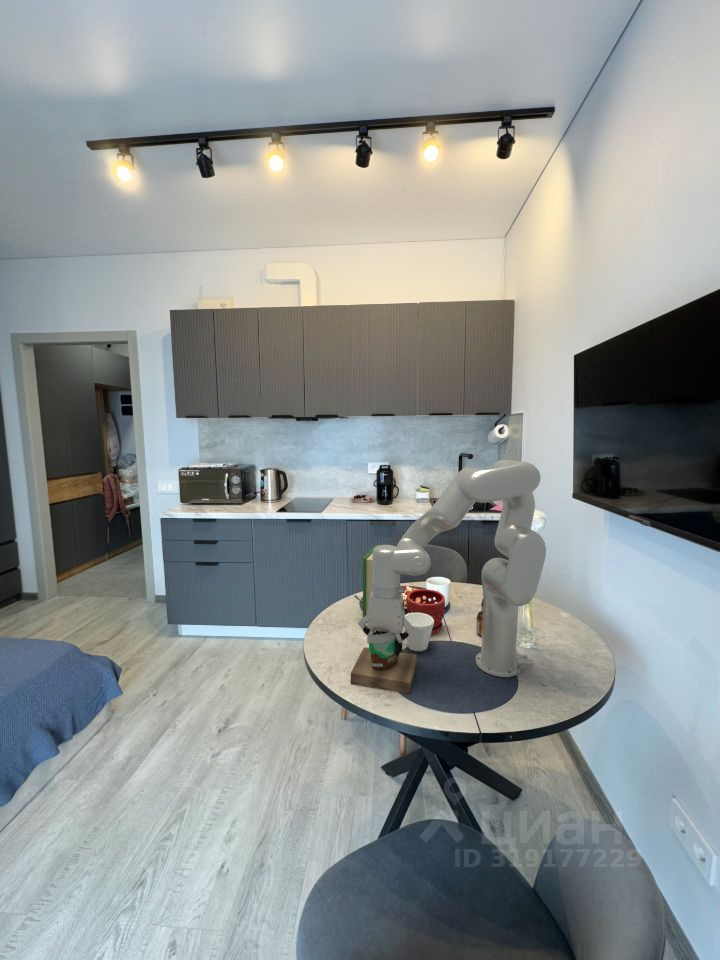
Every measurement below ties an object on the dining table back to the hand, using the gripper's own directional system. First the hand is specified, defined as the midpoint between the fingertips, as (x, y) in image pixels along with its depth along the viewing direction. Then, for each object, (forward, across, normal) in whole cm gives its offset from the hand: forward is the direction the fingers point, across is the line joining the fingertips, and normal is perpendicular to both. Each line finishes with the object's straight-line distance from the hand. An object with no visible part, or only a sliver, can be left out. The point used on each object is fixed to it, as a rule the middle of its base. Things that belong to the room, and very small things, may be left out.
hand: (385, 651), depth 114 cm
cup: (+7, -7, -17) cm, 20 cm away
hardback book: (+7, +10, -37) cm, 39 cm away
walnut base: (+7, 0, 0) cm, 7 cm away
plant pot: (+7, -8, -30) cm, 32 cm away
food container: (+3, -1, 0) cm, 4 cm away
